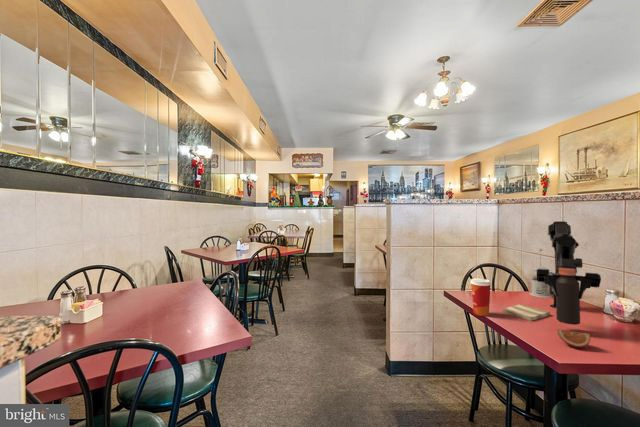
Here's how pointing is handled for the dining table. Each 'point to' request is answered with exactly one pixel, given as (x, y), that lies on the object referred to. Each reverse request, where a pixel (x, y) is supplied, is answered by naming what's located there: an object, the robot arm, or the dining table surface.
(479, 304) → the coffee cup
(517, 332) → the dining table surface
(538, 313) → the napkin
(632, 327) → the dining table surface
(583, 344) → the fruit slice
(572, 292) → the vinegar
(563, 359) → the dining table surface
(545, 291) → the french press
